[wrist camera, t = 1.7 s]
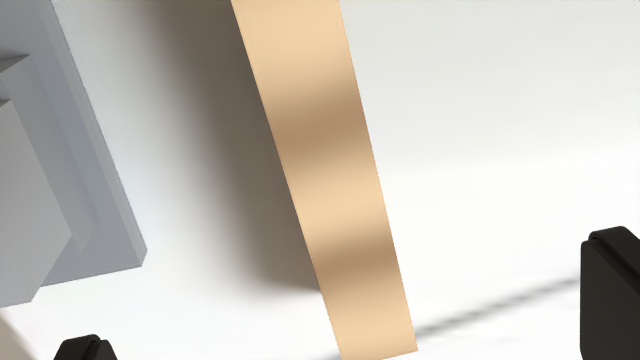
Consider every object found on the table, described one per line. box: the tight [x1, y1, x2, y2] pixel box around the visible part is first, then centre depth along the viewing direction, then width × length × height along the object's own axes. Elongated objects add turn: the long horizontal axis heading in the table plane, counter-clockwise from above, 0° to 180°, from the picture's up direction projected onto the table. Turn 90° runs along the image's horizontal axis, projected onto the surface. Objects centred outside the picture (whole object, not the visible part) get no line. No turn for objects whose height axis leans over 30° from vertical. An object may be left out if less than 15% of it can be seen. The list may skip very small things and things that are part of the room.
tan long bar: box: [231, 0, 418, 360], centre depth 24 cm, size 24×4×6 cm, turn 14°
